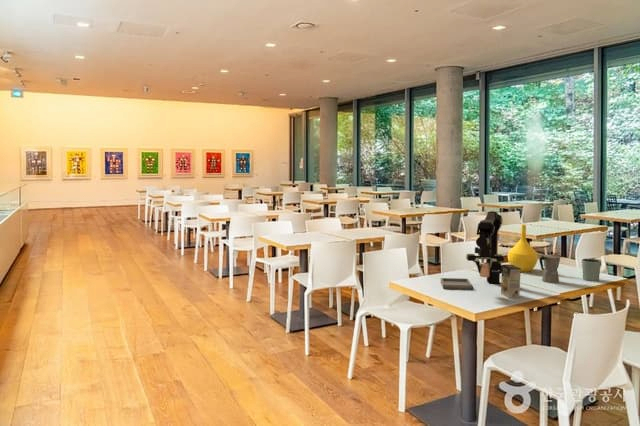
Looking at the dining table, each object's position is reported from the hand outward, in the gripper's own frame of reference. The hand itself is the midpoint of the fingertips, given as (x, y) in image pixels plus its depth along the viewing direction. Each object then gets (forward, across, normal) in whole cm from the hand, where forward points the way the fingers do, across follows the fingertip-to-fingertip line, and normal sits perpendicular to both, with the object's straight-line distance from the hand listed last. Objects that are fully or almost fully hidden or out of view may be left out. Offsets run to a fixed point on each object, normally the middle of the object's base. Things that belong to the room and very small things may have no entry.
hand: (484, 273), depth 267 cm
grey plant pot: (+12, -69, -38) cm, 80 cm away
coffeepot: (+12, -43, -32) cm, 55 cm away
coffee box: (+12, -13, +2) cm, 18 cm away
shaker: (+2, 0, 0) cm, 2 cm away
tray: (+11, +13, -16) cm, 23 cm away
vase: (+12, -35, -61) cm, 71 cm away
